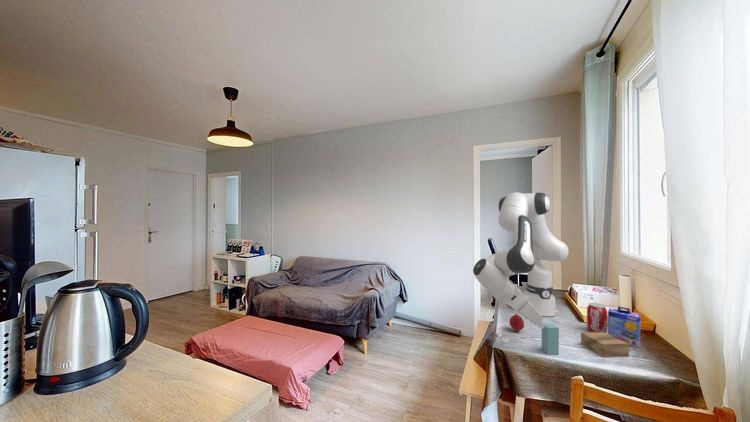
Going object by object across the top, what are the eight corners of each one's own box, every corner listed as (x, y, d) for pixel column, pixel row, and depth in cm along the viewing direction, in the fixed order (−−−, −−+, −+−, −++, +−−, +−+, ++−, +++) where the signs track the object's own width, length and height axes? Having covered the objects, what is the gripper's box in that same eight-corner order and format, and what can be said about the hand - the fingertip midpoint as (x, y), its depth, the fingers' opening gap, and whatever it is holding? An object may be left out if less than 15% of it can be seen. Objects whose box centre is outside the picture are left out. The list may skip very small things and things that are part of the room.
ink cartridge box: (607, 339, 115) (607, 305, 115) (608, 335, 118) (608, 302, 119) (640, 348, 107) (640, 311, 108) (640, 343, 111) (640, 308, 111)
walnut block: (581, 344, 110) (581, 332, 110) (604, 344, 111) (604, 332, 111) (603, 358, 100) (603, 344, 100) (628, 357, 101) (628, 343, 101)
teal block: (541, 349, 106) (541, 323, 106) (552, 349, 105) (552, 323, 106) (547, 354, 102) (547, 327, 102) (558, 355, 101) (558, 328, 102)
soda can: (611, 336, 118) (611, 308, 118) (592, 334, 119) (592, 307, 119) (601, 329, 125) (601, 303, 125) (583, 328, 126) (583, 301, 126)
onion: (523, 330, 123) (523, 312, 123) (524, 335, 118) (524, 316, 118) (509, 327, 126) (509, 310, 126) (509, 332, 120) (509, 314, 120)
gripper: (492, 293, 114) (516, 317, 114) (515, 310, 94) (544, 339, 93) (503, 282, 114) (527, 307, 113) (528, 297, 94) (557, 326, 93)
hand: (535, 322), depth 103 cm, fingers open, 8 cm apart
